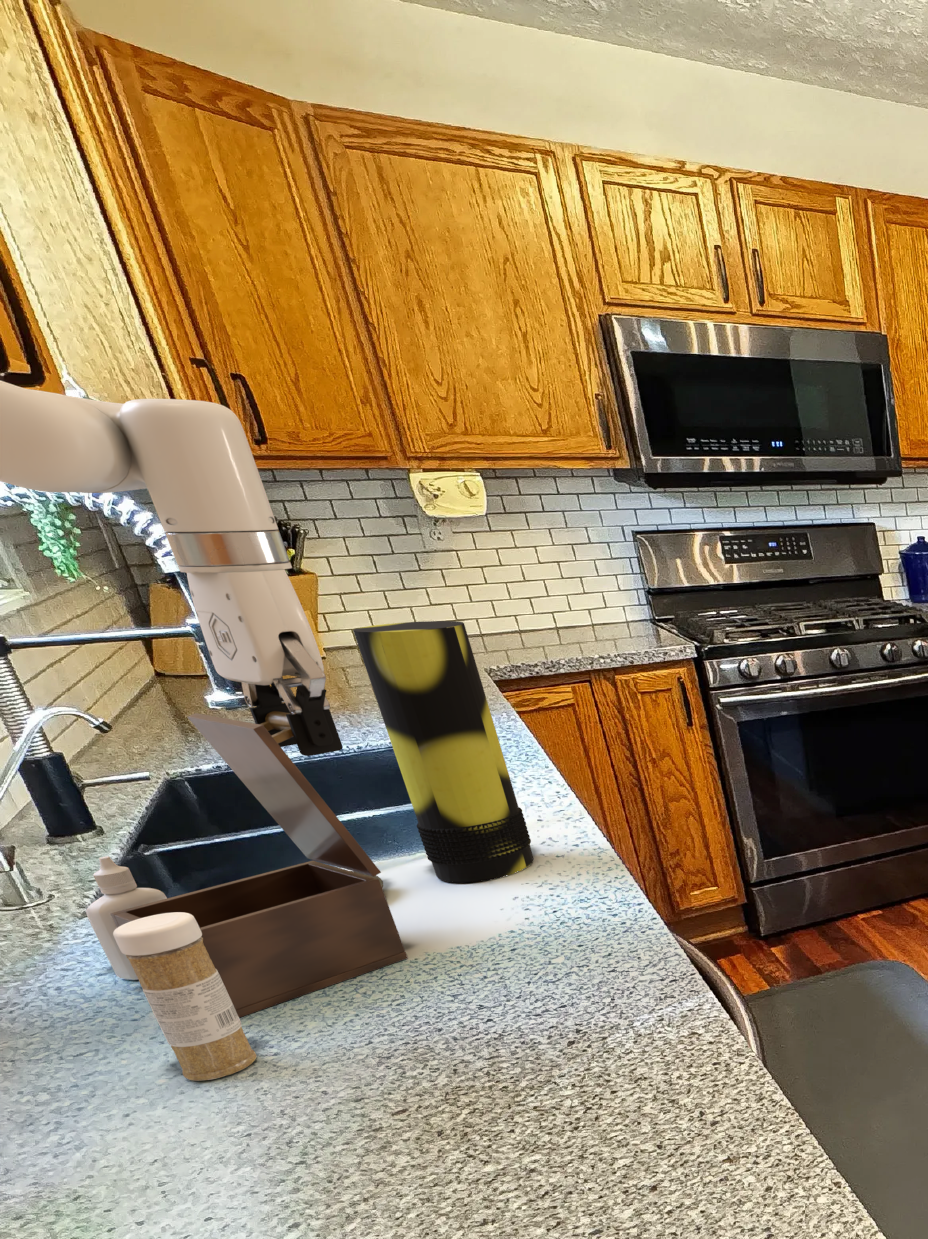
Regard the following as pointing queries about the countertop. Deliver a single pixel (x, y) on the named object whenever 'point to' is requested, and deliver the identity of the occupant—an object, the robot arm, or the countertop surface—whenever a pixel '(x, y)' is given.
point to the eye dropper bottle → (116, 898)
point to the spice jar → (186, 994)
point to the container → (446, 748)
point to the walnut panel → (283, 788)
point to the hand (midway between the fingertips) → (303, 747)
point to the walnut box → (288, 931)
